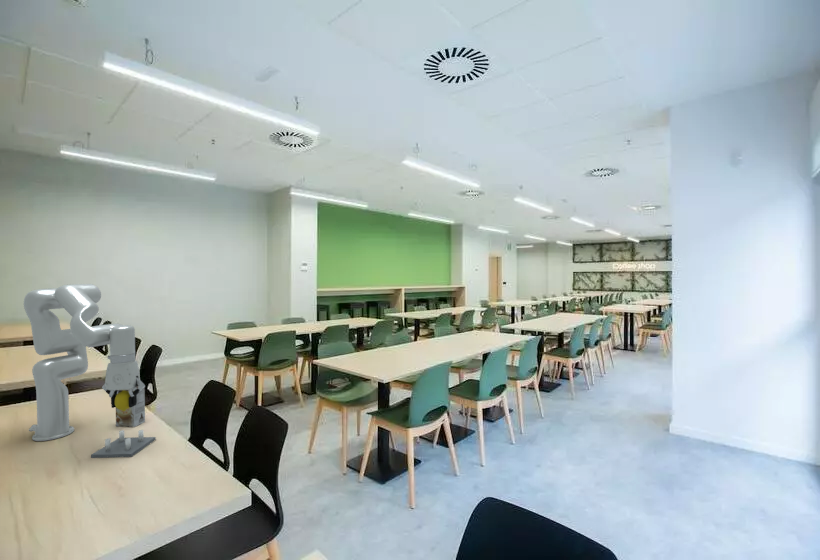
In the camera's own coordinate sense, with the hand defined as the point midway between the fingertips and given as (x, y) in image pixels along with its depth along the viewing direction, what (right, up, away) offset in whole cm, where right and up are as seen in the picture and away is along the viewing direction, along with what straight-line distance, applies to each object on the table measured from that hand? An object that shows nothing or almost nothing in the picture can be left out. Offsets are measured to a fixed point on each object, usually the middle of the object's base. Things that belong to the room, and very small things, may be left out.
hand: (124, 405), depth 144 cm
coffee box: (-15, -16, +24) cm, 32 cm away
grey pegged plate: (0, -16, 0) cm, 16 cm away
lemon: (0, -2, 0) cm, 2 cm away
